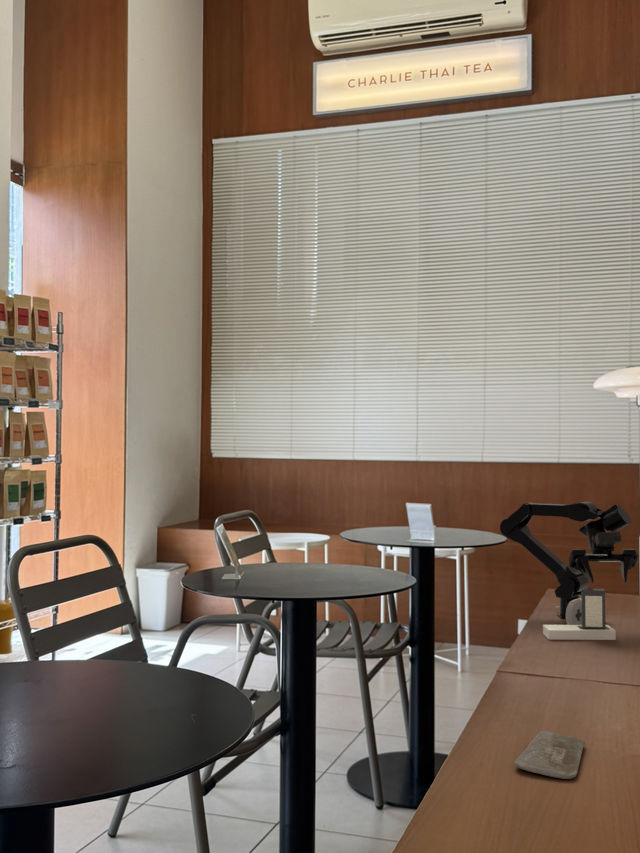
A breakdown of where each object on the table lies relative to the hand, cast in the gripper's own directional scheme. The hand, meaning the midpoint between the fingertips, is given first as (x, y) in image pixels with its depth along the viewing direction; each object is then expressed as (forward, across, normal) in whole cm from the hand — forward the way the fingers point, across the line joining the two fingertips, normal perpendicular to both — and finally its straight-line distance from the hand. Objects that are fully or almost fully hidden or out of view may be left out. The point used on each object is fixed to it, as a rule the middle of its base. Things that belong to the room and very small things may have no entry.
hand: (609, 582), depth 244 cm
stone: (+81, -37, -60) cm, 108 cm away
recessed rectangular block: (+16, -11, +4) cm, 19 cm away
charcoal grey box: (+15, -7, +3) cm, 17 cm away
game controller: (+5, -6, +15) cm, 16 cm away
